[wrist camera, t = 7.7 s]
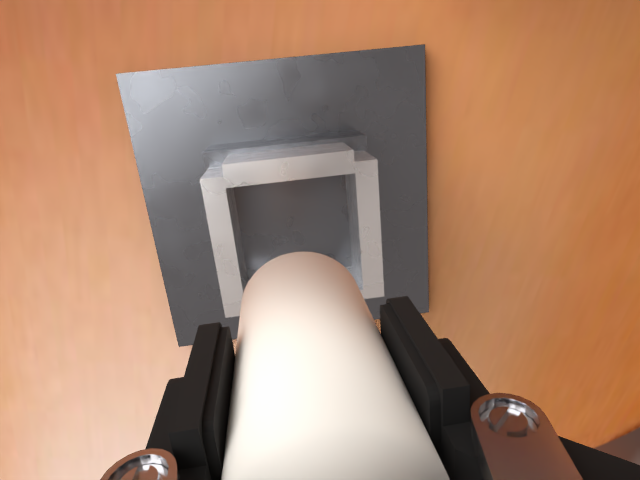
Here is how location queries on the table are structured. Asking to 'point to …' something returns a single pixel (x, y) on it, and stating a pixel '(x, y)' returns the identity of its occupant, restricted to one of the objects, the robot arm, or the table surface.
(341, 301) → the white cylinder
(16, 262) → the table surface
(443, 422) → the robot arm
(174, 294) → the bracket
